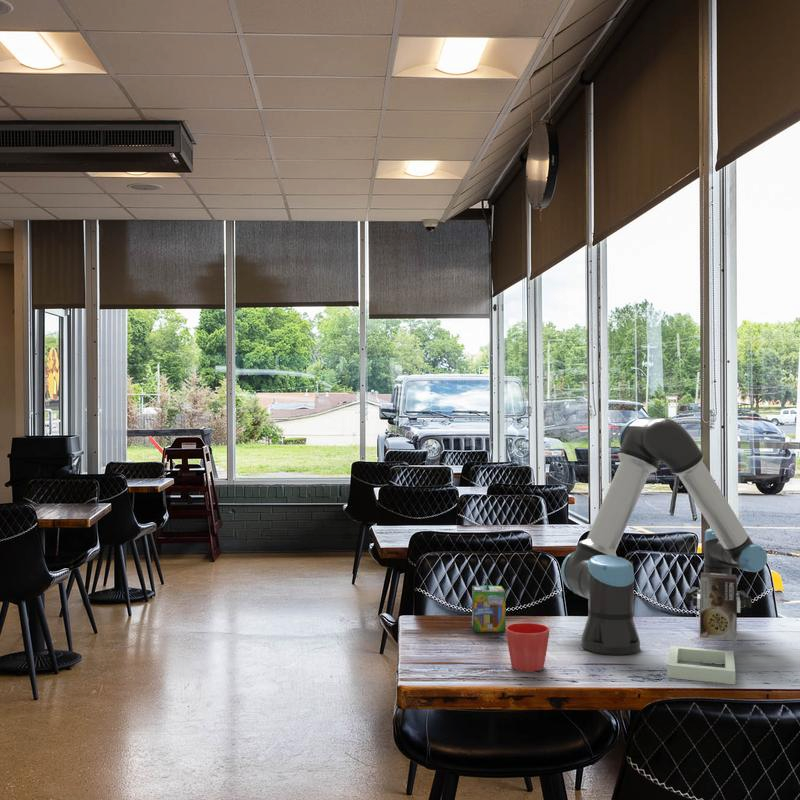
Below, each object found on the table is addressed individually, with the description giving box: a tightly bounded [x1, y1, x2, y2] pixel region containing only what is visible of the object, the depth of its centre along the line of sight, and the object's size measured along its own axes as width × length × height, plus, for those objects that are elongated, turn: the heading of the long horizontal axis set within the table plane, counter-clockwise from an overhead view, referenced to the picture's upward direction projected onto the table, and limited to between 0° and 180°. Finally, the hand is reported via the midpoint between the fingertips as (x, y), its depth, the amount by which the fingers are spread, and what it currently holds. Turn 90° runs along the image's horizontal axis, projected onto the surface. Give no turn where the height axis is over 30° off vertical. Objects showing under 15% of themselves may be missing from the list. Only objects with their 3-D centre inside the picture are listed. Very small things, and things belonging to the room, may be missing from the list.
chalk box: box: [471, 575, 507, 633], centre depth 257 cm, size 9×9×15 cm
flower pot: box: [505, 622, 551, 673], centre depth 219 cm, size 11×11×10 cm
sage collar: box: [666, 645, 736, 685], centre depth 217 cm, size 15×18×3 cm
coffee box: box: [699, 571, 738, 642], centre depth 234 cm, size 9×6×16 cm
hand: (718, 605), depth 229 cm, fingers closed on coffee box, 9 cm apart
